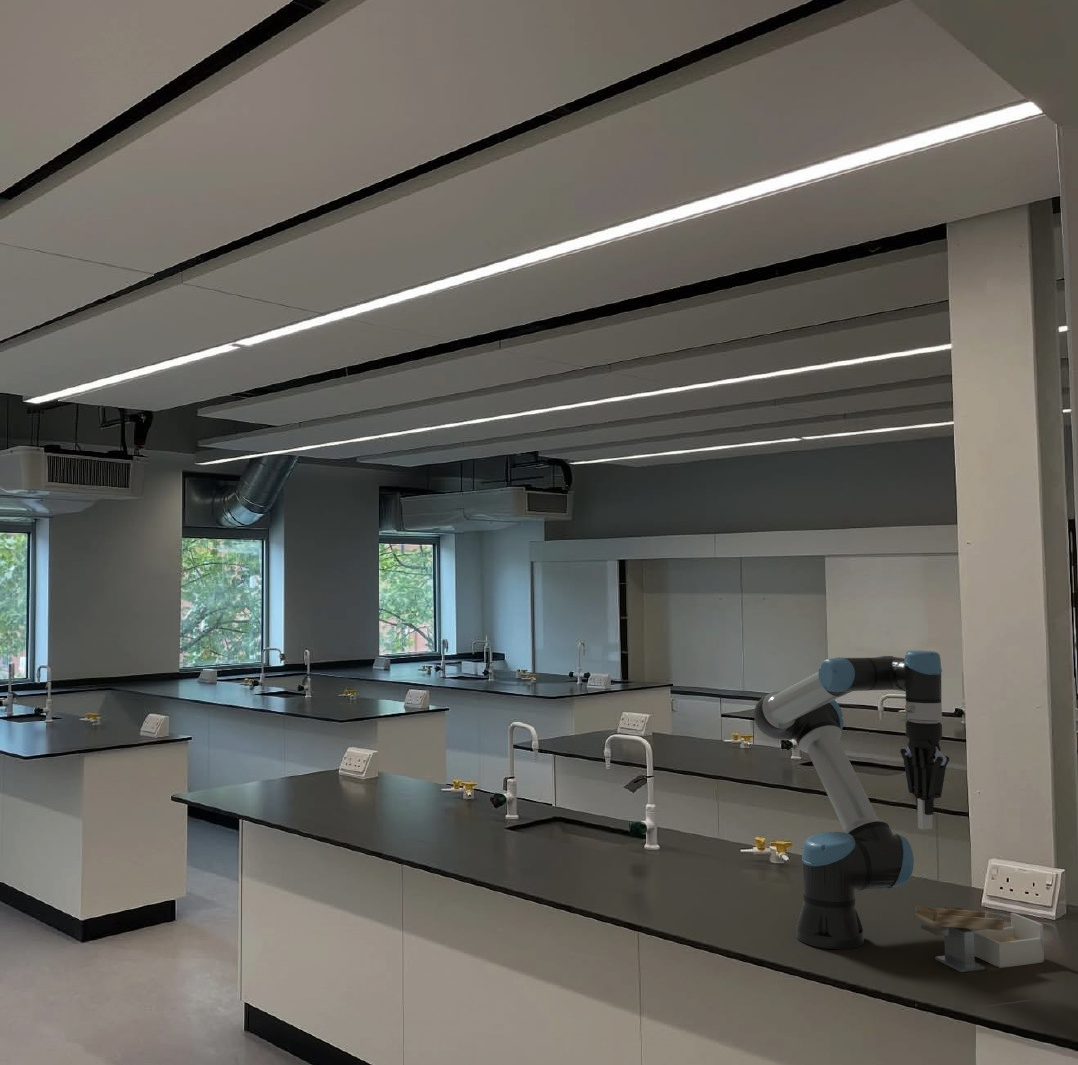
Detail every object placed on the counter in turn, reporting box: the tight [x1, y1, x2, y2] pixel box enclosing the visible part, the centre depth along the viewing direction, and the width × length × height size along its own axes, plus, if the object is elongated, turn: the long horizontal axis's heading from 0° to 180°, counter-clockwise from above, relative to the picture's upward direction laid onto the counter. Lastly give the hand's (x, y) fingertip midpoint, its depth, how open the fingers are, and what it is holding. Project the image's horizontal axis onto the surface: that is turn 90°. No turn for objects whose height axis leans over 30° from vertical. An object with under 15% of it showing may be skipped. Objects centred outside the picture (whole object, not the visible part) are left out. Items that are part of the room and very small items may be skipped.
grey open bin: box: [973, 912, 1045, 969], centre depth 223 cm, size 9×12×8 cm
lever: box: [913, 903, 1005, 937], centre depth 223 cm, size 18×13×5 cm
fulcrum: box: [935, 927, 985, 973], centre depth 220 cm, size 6×8×8 cm
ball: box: [1004, 938, 1017, 942], centre depth 224 cm, size 4×4×4 cm
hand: (925, 828), depth 226 cm, fingers closed
